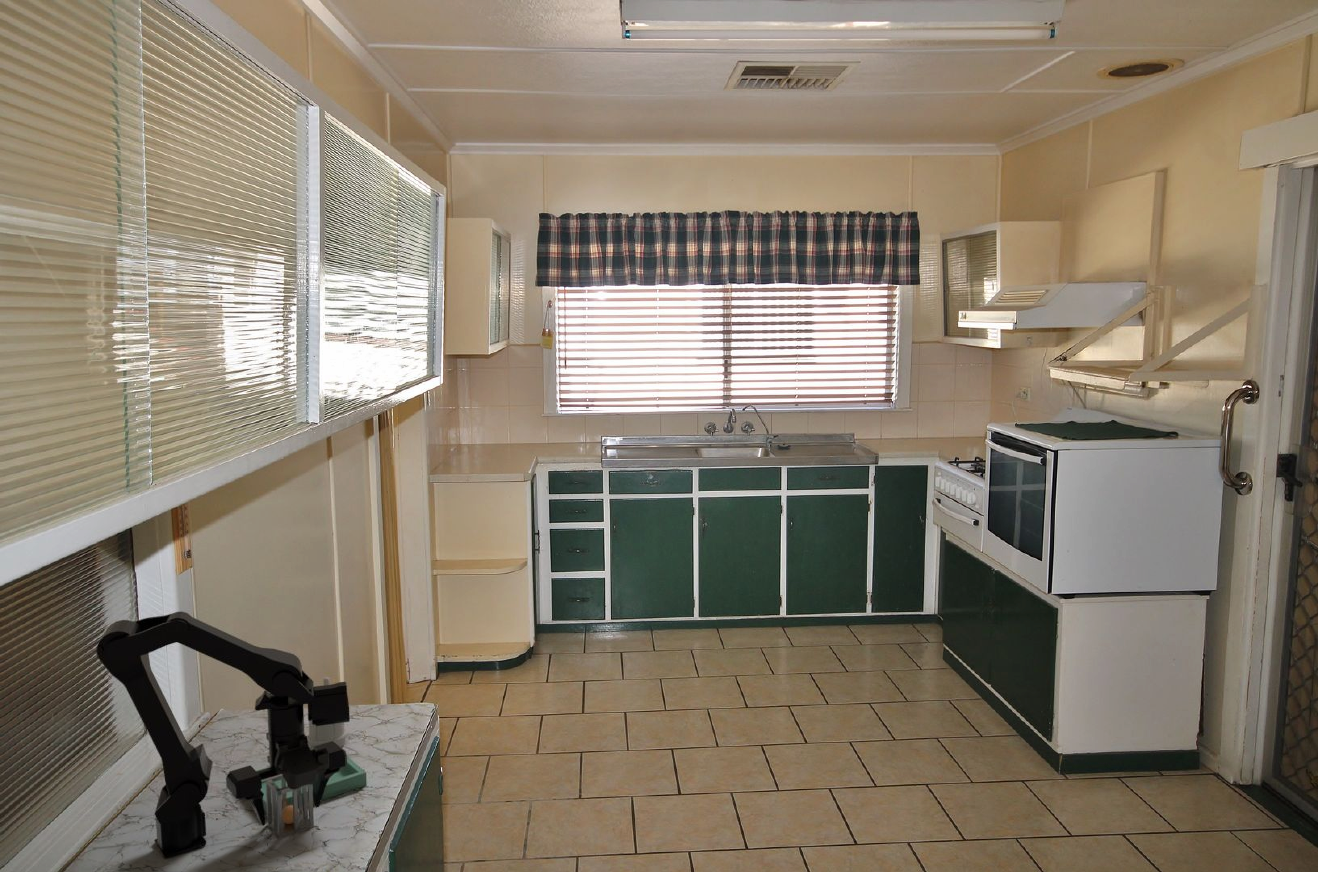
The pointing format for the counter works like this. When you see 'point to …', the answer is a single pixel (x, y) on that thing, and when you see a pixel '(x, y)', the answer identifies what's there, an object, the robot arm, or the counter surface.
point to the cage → (277, 807)
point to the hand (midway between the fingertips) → (290, 815)
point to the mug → (326, 731)
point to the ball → (288, 814)
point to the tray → (329, 783)
